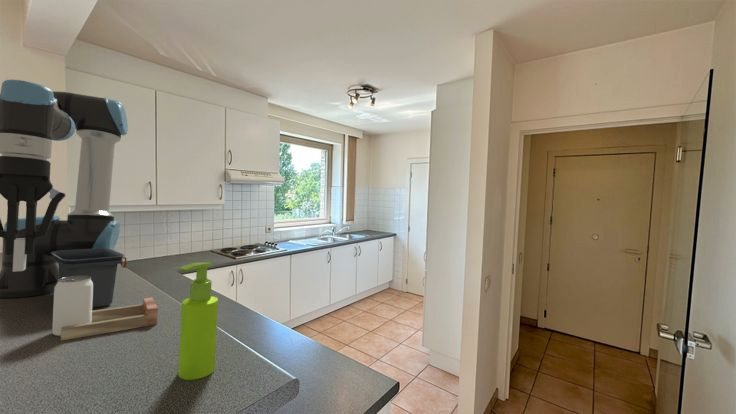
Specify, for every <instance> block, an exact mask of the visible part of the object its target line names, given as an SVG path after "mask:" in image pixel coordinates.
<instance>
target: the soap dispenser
mask: <svg viewBox="0 0 736 414" xmlns="http://www.w3.org/2000/svg"><path fill="white" fill-rule="evenodd" d="M209 267H210V268H211V267H213V262H205V261H204V262H202V261H201V262H191V263H188V264H185V265H183V266H180V267H178V270H179V271H182V272H190V271H193V270H196V275H195V277H196V278H194V279H193V280H191V281H190V292H189V297H188V298H185V299H183V300H182V301H181V309H180V310H181V312H180V329H179V331H180V332H179V349H178V350H179V351H178V352H179V354H178V373H177V374H178V377H179V378H180V379H182V380H185V381H194V380H200V379H203V378H206V377H207V376H209V375H211V374H212V373H213V372H214V371H215V367H216V347H217V329H218V326H217V325H218V312H219V311H218V307H219V299H218V297H217V296H213V295H212V283H213V281H212V280H211V279H209V278H208V268H209Z"/></svg>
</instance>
